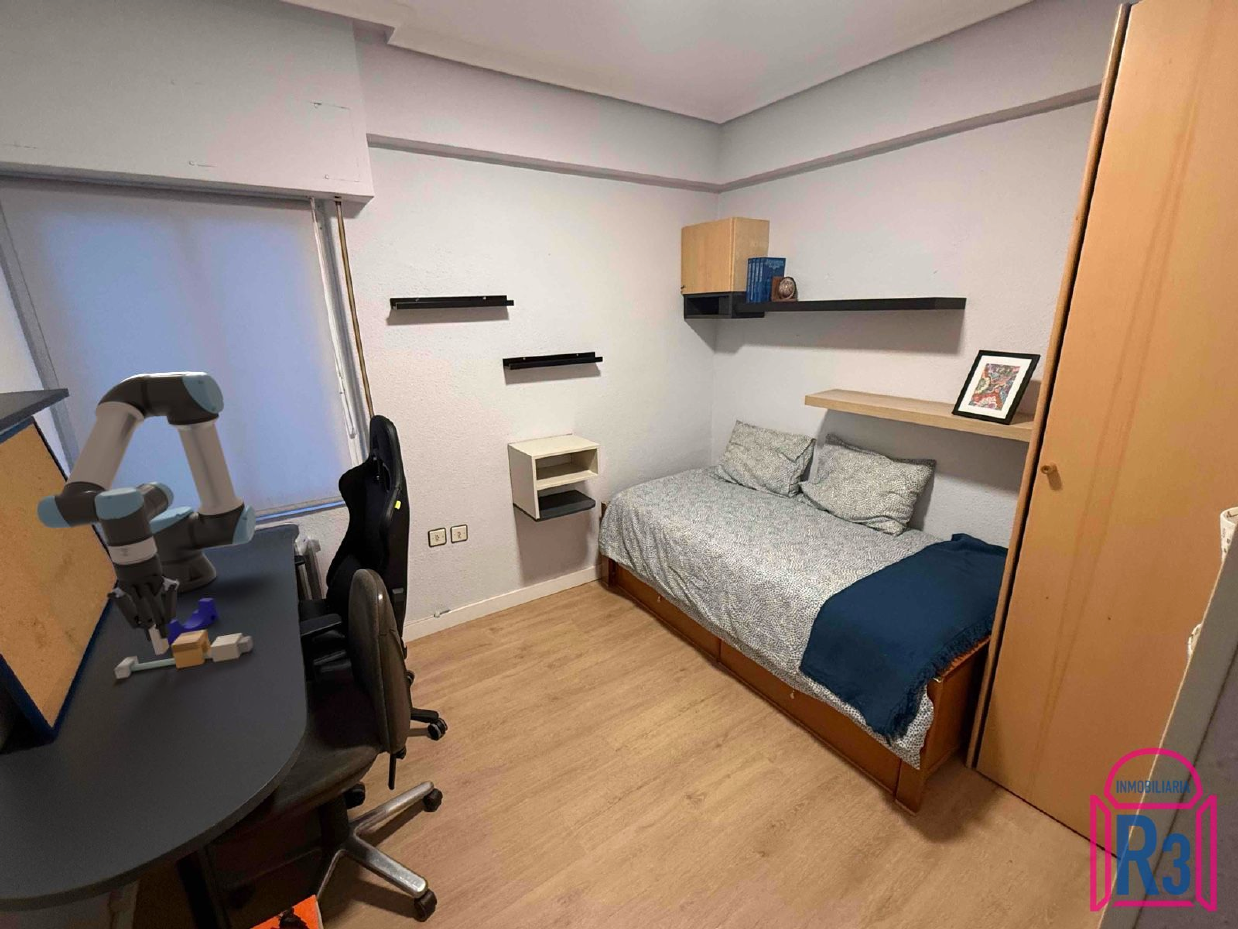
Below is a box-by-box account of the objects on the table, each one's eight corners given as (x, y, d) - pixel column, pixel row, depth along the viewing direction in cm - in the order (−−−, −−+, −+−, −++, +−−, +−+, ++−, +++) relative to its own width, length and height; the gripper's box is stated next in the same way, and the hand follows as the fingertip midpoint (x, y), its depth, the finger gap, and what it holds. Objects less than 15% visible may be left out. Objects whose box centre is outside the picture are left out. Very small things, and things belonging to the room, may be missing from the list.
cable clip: (203, 617, 144) (198, 598, 142) (218, 618, 143) (213, 598, 142) (161, 643, 132) (155, 622, 131) (178, 644, 132) (172, 623, 130)
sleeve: (177, 668, 122) (170, 645, 120) (187, 655, 127) (181, 633, 125) (202, 664, 123) (196, 641, 122) (211, 651, 128) (206, 629, 127)
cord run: (116, 678, 119) (111, 663, 118) (128, 666, 123) (123, 651, 122) (248, 656, 126) (244, 641, 125) (255, 645, 130) (251, 631, 129)
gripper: (88, 569, 111) (119, 666, 117) (162, 560, 115) (188, 654, 121) (109, 555, 118) (137, 647, 124) (178, 546, 122) (202, 636, 128)
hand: (162, 650), depth 123 cm, fingers closed
